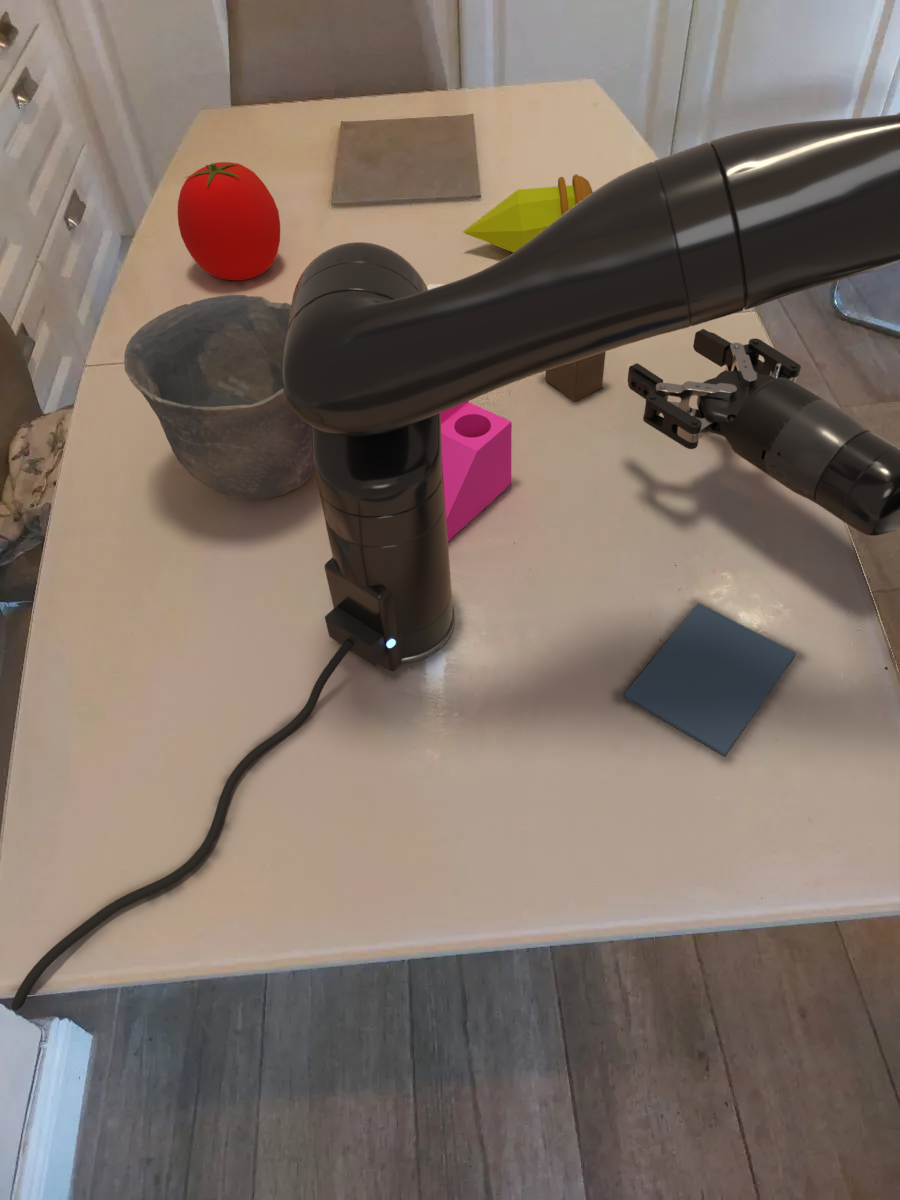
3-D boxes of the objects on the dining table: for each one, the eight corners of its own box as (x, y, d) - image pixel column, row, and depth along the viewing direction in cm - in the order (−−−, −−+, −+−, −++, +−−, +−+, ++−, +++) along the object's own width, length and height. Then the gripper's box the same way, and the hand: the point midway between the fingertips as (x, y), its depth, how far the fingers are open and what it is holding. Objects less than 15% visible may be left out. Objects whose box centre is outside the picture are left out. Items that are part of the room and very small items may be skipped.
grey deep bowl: (154, 537, 88) (100, 413, 76) (184, 422, 99) (142, 298, 88) (337, 528, 87) (311, 401, 76) (347, 413, 99) (326, 288, 87)
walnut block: (602, 387, 100) (609, 314, 93) (574, 402, 98) (579, 329, 91) (572, 366, 102) (577, 294, 95) (545, 380, 101) (547, 308, 94)
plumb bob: (466, 278, 116) (665, 247, 113) (454, 204, 111) (662, 169, 108) (468, 257, 124) (655, 227, 120) (457, 187, 118) (652, 153, 115)
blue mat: (724, 756, 69) (725, 753, 69) (623, 696, 73) (623, 694, 73) (795, 655, 75) (796, 652, 75) (697, 605, 79) (698, 602, 79)
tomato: (182, 294, 116) (149, 184, 105) (204, 249, 123) (176, 141, 113) (278, 294, 115) (255, 183, 104) (295, 248, 122) (275, 140, 112)
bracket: (432, 444, 95) (425, 360, 87) (511, 483, 90) (511, 399, 82) (353, 508, 89) (338, 425, 81) (434, 554, 84) (426, 470, 77)
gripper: (868, 371, 77) (723, 292, 86) (750, 441, 72) (610, 350, 81) (843, 440, 82) (711, 360, 91) (733, 510, 78) (604, 417, 86)
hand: (664, 355), depth 86 cm, fingers open, 8 cm apart
